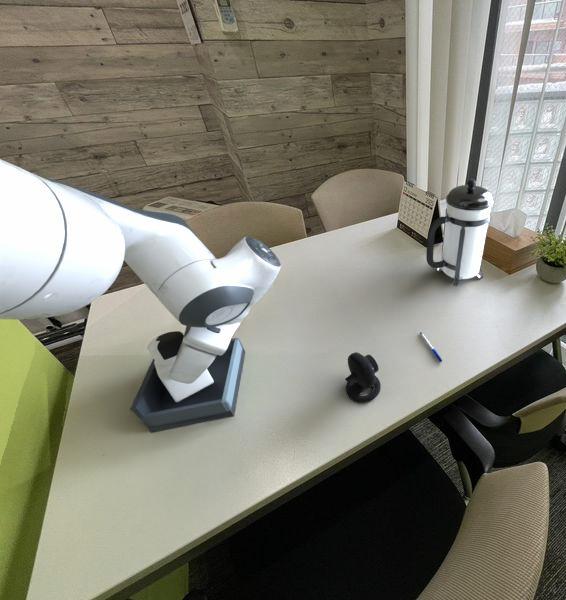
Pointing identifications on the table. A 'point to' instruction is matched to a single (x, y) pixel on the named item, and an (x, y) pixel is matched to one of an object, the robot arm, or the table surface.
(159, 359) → the medicine bottle
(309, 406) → the table surface
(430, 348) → the ballpoint pen
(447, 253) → the coffee press
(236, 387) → the drawer
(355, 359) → the webcam
